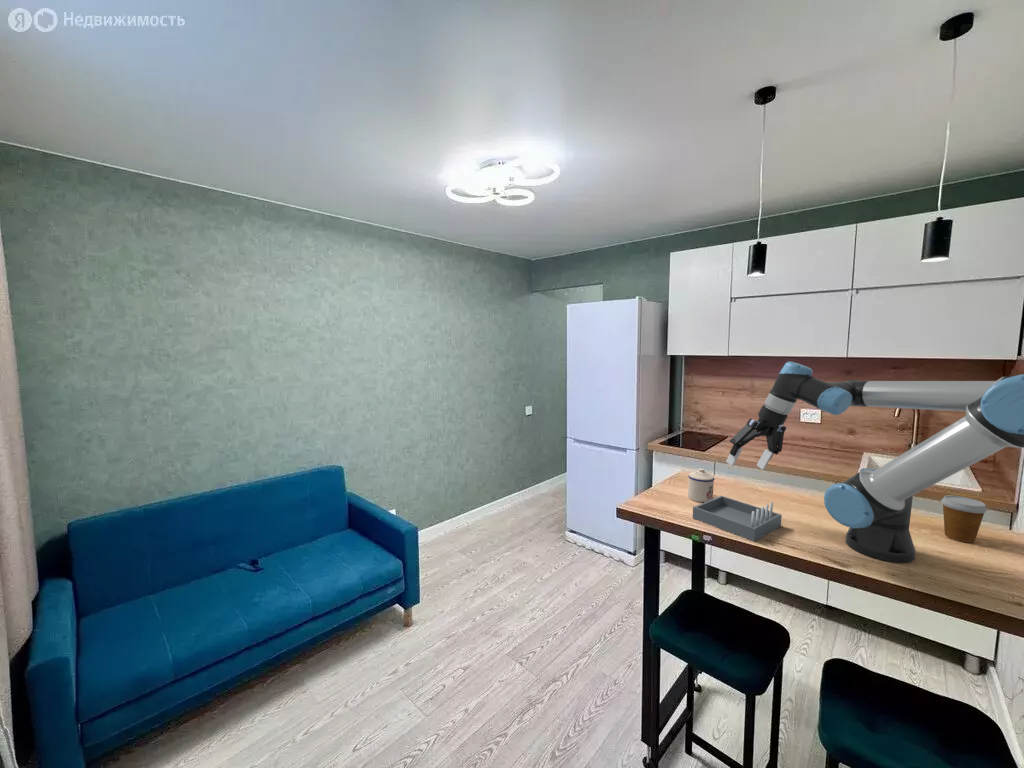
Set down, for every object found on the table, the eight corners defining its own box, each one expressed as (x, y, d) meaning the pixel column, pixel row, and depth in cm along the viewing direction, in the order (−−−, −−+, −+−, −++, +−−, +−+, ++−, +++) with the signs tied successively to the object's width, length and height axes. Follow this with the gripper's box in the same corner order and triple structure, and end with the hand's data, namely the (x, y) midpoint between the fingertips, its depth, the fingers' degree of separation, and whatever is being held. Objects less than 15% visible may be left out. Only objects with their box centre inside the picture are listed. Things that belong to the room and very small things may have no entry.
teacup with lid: (711, 505, 153) (713, 474, 152) (685, 500, 158) (686, 470, 156) (715, 494, 163) (717, 465, 162) (690, 490, 168) (691, 462, 166)
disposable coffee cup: (969, 547, 121) (974, 508, 120) (929, 533, 130) (933, 496, 129) (990, 543, 124) (996, 504, 123) (950, 529, 133) (954, 493, 132)
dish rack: (780, 526, 135) (782, 502, 135) (753, 541, 125) (755, 516, 124) (720, 506, 152) (721, 485, 151) (692, 518, 142) (693, 495, 141)
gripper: (793, 409, 138) (764, 463, 145) (737, 398, 130) (708, 455, 137) (813, 420, 132) (781, 475, 139) (755, 409, 124) (724, 468, 131)
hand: (745, 465), depth 138 cm, fingers open, 13 cm apart
